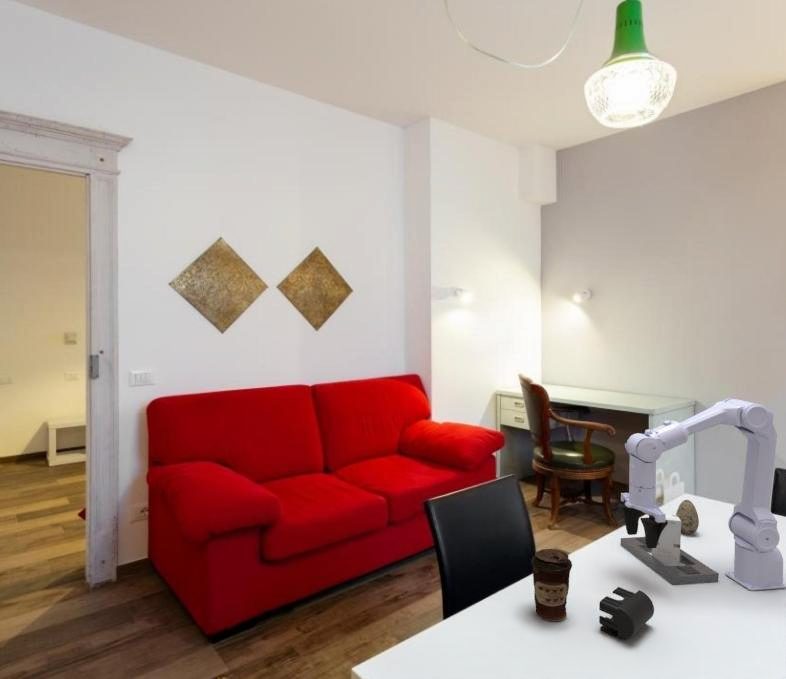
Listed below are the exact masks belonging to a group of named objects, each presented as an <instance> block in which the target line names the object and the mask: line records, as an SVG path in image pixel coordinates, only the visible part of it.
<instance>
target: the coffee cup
mask: <svg viewBox="0 0 786 679" xmlns="http://www.w3.org/2000/svg"><path fill="white" fill-rule="evenodd" d="M569 556H570V555H569V554H568V553H567V552H564V551H562V550H559V549H553V548H545V549H544V548H543V549H541V550H538V551H536V552H534V555H533V556H532V558H531V561H530V562H531V565H532V578H533V579H532V580H533V588H534V590H533V593H534V604H535V614H536V615H537V616H538V617H539V618H541V619H543V620H546V621H549V622H560V621H563V620H565V619H567V598H568V595H569V594H568V593H569V588H570V573H571V570H572V567H573V563H572V561H571V559H569Z"/></svg>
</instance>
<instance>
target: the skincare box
mask: <svg viewBox="0 0 786 679" xmlns="http://www.w3.org/2000/svg"><path fill="white" fill-rule="evenodd" d="M665 514H666V520H667V521H668V524H667V525H666V527H665V528H664V529H663V531H662V533H661V535H660V538H659V541H658V544H657V547H656V548H652V552H651V555H652V556H653V557H655V558H656V559H657V560H659V561H660V562H661V563H663V564H664V565H666V566H680V564H681V562H680V549H681V538H682V536H681V535H682V532H681V520H680V519H679V517H678V516H676V514H668V513H665Z"/></svg>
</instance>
